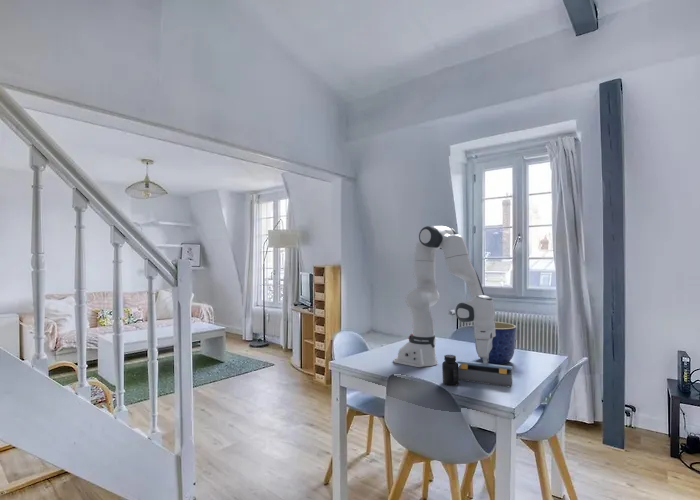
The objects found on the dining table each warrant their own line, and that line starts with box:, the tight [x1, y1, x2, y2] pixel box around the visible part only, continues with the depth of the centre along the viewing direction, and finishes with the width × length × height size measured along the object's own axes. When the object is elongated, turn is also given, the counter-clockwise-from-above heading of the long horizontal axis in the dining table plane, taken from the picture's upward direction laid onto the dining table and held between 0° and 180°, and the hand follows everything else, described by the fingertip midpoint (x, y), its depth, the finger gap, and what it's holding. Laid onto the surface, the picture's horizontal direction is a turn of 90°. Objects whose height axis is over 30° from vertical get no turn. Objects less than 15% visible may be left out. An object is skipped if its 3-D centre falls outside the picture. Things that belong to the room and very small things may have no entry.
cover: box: [456, 360, 514, 374], centre depth 173 cm, size 22×11×3 cm, turn 64°
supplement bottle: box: [441, 354, 460, 387], centre depth 169 cm, size 7×7×12 cm
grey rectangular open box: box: [458, 364, 513, 388], centre depth 174 cm, size 22×10×5 cm, turn 64°
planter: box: [473, 321, 517, 365], centre depth 203 cm, size 21×21×19 cm
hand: (485, 363), depth 173 cm, fingers closed
